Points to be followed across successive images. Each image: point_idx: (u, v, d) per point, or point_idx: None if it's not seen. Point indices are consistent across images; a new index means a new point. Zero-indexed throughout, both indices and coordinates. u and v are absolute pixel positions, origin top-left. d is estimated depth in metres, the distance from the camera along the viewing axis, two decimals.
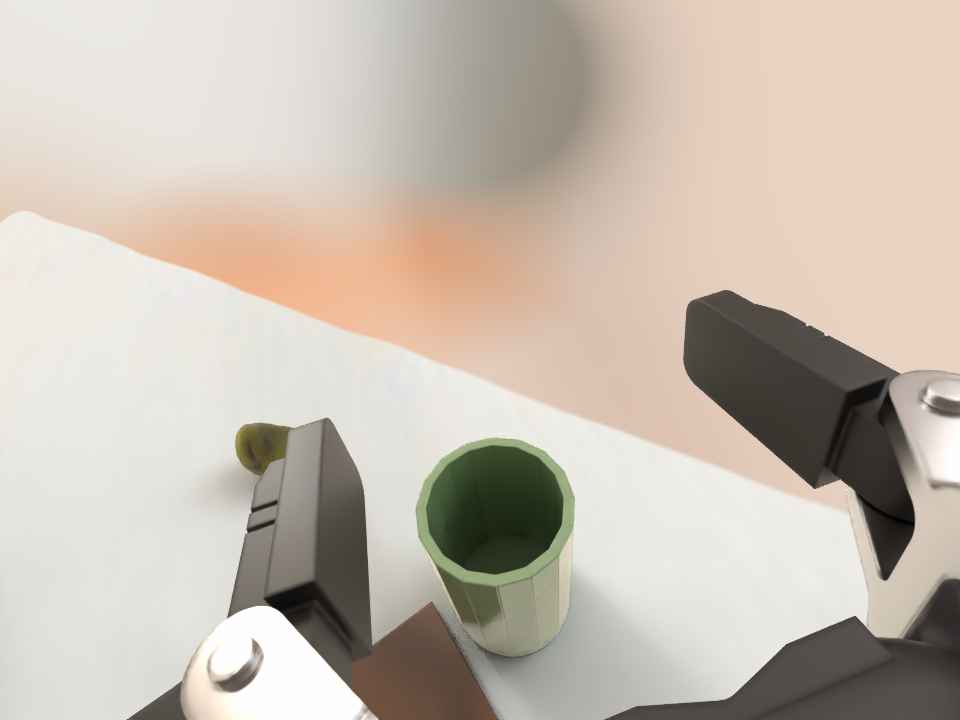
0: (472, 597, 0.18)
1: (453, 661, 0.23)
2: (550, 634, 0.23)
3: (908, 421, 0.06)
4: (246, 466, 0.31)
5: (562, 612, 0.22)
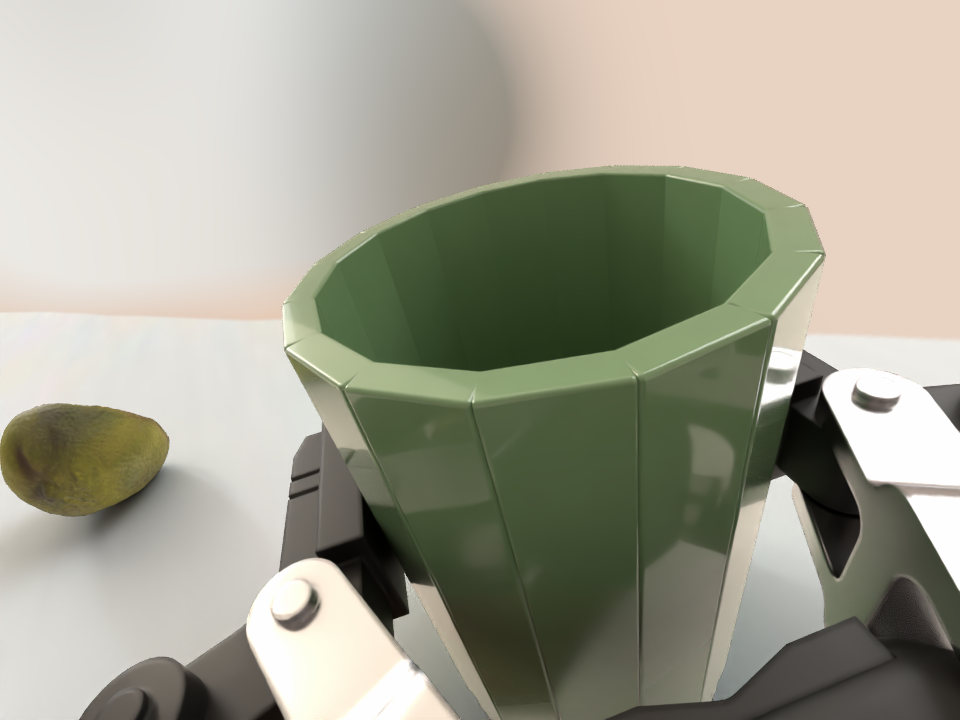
0: (522, 523, 0.04)
1: None
2: (715, 679, 0.09)
3: (843, 420, 0.06)
4: (22, 496, 0.16)
5: None
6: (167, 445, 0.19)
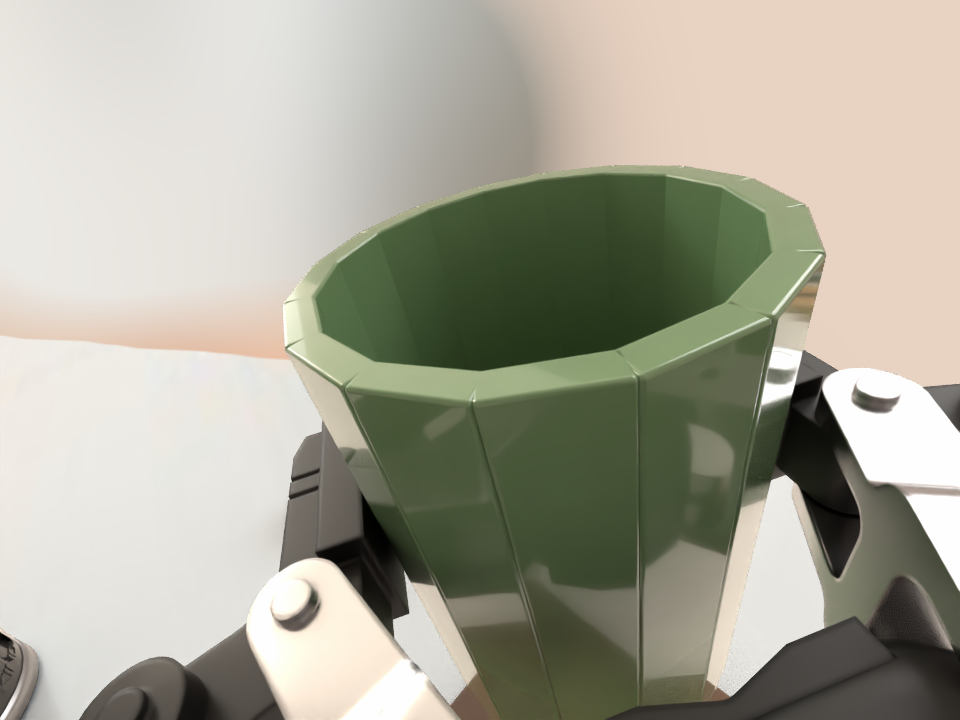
0: (522, 522, 0.04)
1: None
2: (716, 679, 0.09)
3: (843, 420, 0.06)
4: None
5: None
6: None
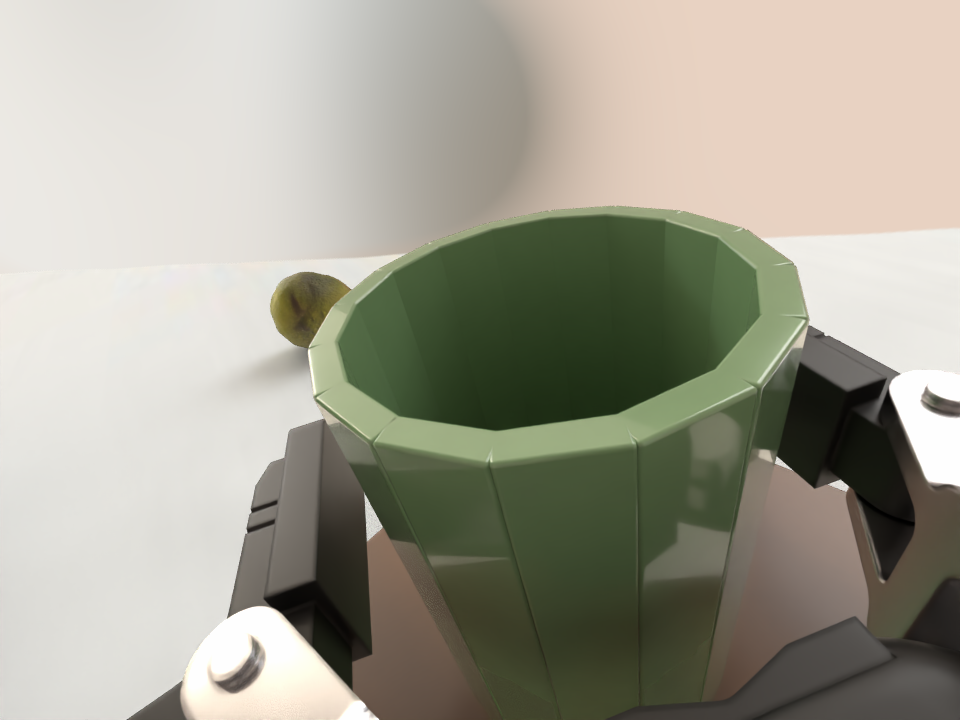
0: (532, 562, 0.05)
1: None
2: (713, 692, 0.09)
3: (908, 421, 0.06)
4: (288, 328, 0.26)
5: None
6: None
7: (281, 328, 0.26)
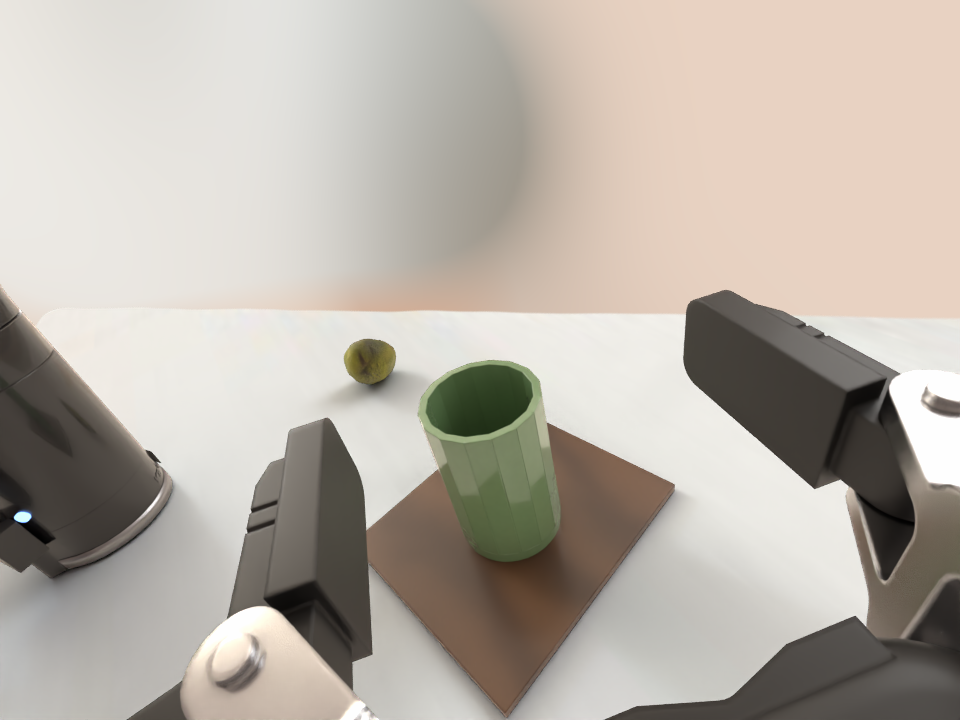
0: (474, 465, 0.22)
1: None
2: (548, 528, 0.26)
3: (908, 421, 0.06)
4: (356, 373, 0.43)
5: (554, 504, 0.26)
6: (394, 360, 0.46)
7: (351, 372, 0.44)
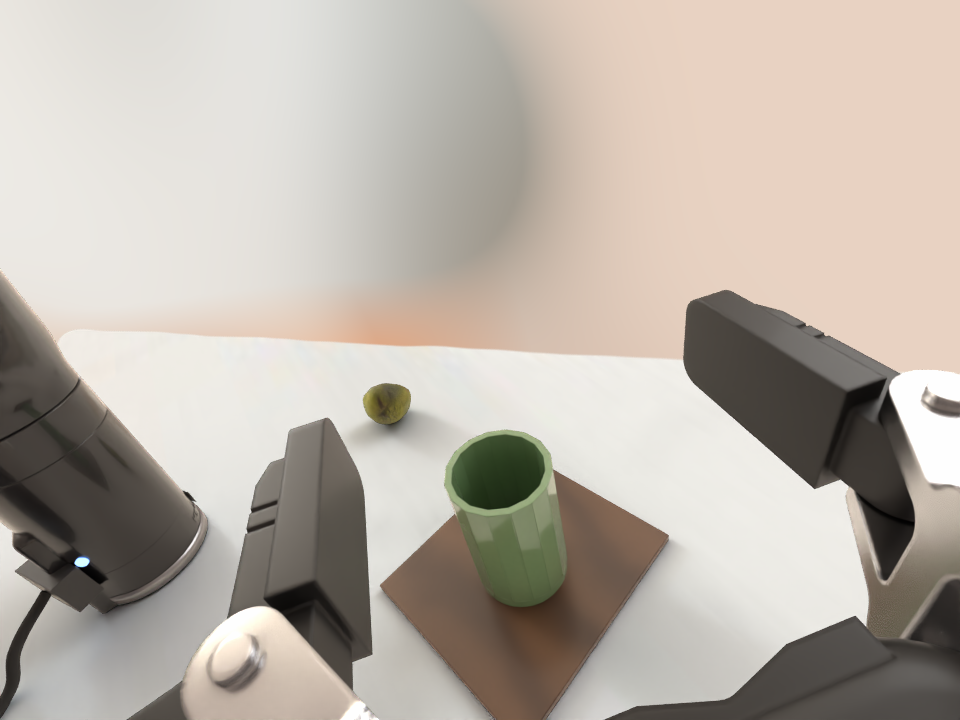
0: (495, 533, 0.25)
1: None
2: (557, 578, 0.30)
3: (908, 421, 0.06)
4: (375, 415, 0.47)
5: (562, 557, 0.30)
6: (409, 400, 0.50)
7: (370, 414, 0.47)
